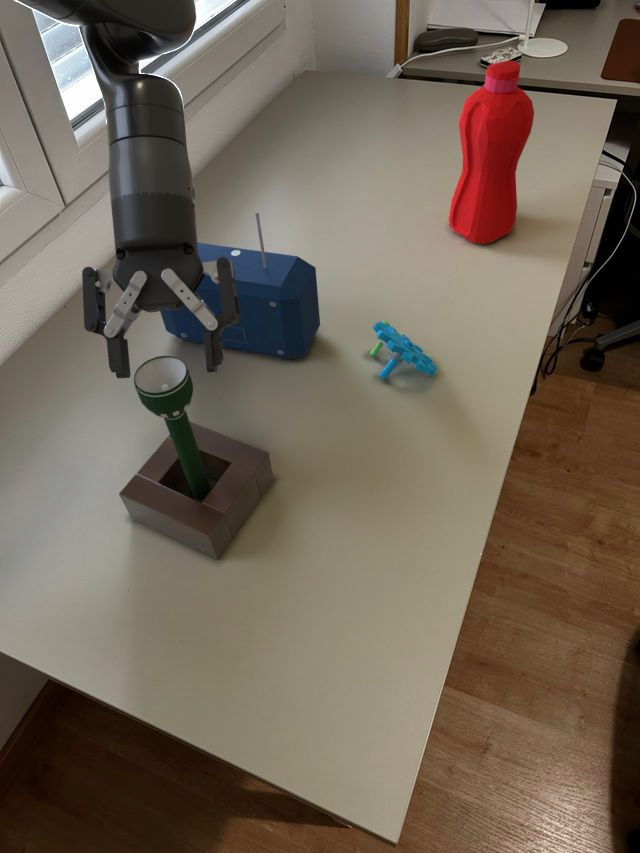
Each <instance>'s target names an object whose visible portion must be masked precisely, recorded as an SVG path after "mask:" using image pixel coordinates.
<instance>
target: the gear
mask: <svg viewBox="0 0 640 853" xmlns="http://www.w3.org/2000/svg"><path fill="white" fill-rule="evenodd" d="M372 330H374V332H376V334H375V335H376V337H377V338H378V340H379V341H378V342H377V344H376V345H375V346H374V347H373V349H372V350H371V351H370V352H369V354H370V355H371V356H372V357H375V356H377V354H378V353H379V351H381V349H382V348H383V346H384V348H385V349H386V350H387V351H388V353H389V354H390V356H391V357H392V358H391V359H390V360H389V362H388V363H387V364H386V365H385V366H384V368H383V369H382V370H381V372H380V373H379V374H378V377H380V379H381V380H384V381H386V380H387V378H388V377H389V376H390V374H391V373H392V372H393V371H394V369H395V368H396V367H397V366H398V364H402V363H403V362H404V363H406V365H409V364H410V363H413V364H414V368H415V369H416V370H417V371H419V373H422V374H424V372H425V374H426V375H427V376H430V377H433V376H434V375H435V374H436V373H437V370H438V369H439V367H438V366H437V365H436V364H434V360H433V359H432V357H430V356H429V355H427V354H425V353H424V350H423V349H422V348H421V347H420V346H419V345H417V344H414V343H413V341H411V339H410V338H409V337H408V336H406V335H405V334H404V333H402V334H401V333H400V332H398V330H397V329H396V328H395V327H393V326H392V325H391V324H390V322H388V321H387V320H383V321H381V320H378V322H376V323H375V324H374V325H373V327H372Z"/></svg>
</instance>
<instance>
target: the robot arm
mask: <svg viewBox="0 0 640 853" xmlns="http://www.w3.org/2000/svg"><path fill="white" fill-rule="evenodd" d="M14 2H17V3H20V4H21V5H23V6H26V7H27V8H29V9H32V10H34V11H36V12H37V13H39V14H42V15H44V16H46V17H48V18H50V19H51V20H54V21H56V22H58V23H61V24H64V25H67V26H71V27H78V31H79V32H78V33H79V34H80V38H81V41H82V44H83V46H84V49H85V52H86V54H87V57H88V60H89V62H90V65H91V68H92V71H93V74H94V77H95V80H96V83H97V86H98V89H99V91H100V95H101V97H102V100H103V104H104V109H105V123H106V133H107V144H108V172H107V173H108V185H109V186H108V187H109V198H110V208H111V209H110V210H111V219H112V228H113V239H114V240H113V241H114V250H115V258H116V259H115V264H114V266H113V268H111V269H109V268H108V269H105V268H104V269H101V268H100V269H97V268H94V267H92V266H85V267H84V268H83V269H82V272H81V276H82V277H81V278H82V279H81V280H82V283H81V284H82V307H83V309H82V310H83V327H84V330H85V331H87V332H88V333H93V334H97V335H100V336H102V337H104V339H105V340H106V350H107V360H108V368H109V370H110V372H111V373H115V377H116V378H117V379H130V378H131V364H130V352H129V343H128V339H127V338H125V336H126V334H127V333H128V331H129V329H130V328H131V326H132V324H133V323H134V322H135V321H137V319H138V318H139V316H140V314H141V313H142V312H143V311H144V312H147V313H158V312H160V311H161V310H164V309H168V310H173V311H176V310H181V309H182V308H184V307H186V306H187V307H188V308H189V310H190V311H191V312H192V313H193V314H194V315H195V316H196V317H197V318H198V319H199V320H200V321H201V322H202V324H203V325H204V326H205V327H206V332H205V333H204V344H203V345H204V356H205V357H204V358H205V366H206V373H207V374H209V373H210V374H211V373H218V372H219V367H220V366H223V364H224V361H225V356H224V355H225V354H224V348H223V343H222V332H223V330H224V329H225V328H227V327H229V326H231V325H233V324H237V323H239V322H240V319H241V317H240V310H239V302H238V295H237V288H236V281H235V273H234V267H233V264H232V263H231V262H230V261H229V260H228V259H227V258H225V257H220V258H219V259H218V260H217V261H211V262H204V263H202V262H201V260H200V257H199V253H198V243H199V242H198V232H197V231H198V230H197V220H196V218H197V217H196V207H195V199H196V195H195V194H196V193H195V186H194V182H193V173H192V168H191V164H190V160H189V153H188V144H187V143H188V142H187V130H186V120H185V118H186V117H185V107H184V102H183V96H182V94H181V91H180V88H178V86H177V84H175V83H174V82H173V81H171V80H170V79H168V78H166V77H165V76H161V75H158V74H153V73H144V72H141V62H143V61H146V60H149V59H152V58H155V57H158V56H162V55H165V54H169V53H171V52H175V51H177V50H179V49H181V48H182V47H183V46H185V45H186V44H187V43H189V41H190V40H191V38H192V36H193V34H194V32H195V29H196V25H197V8H196V2H195V0H14ZM205 274H209V275H210V276H211V279H212V281H213V282H214V283H216V284H218V285H219V286H220V293H221V300H222V308H223V313H221V314H219V315H217V316H216V315H215V314H214V313H213V312H212V311H211V310H210V308H209V307H208V306H207V304H206V303H205V302H204V301H203V300H202V299H201V298H200V296H199V295H198V294H197V293H196V290H197V288H198V287H199V285H200V283H201V282H202V280H203V278H204V276H205ZM113 282H115V284H116V285H117V286H118V287H119V288H120V290H121V291H122V292H123V294H122V295H121V297H120V299H119V300H118V301H117V303H116V305H115V307H114V309H113V313H112V315H111V317H110V318H109V319H108V321H107V314H106V312H107V311H106V308H107V307H106V294H107V293H109V291H110V290H111V286H112V284H113Z"/></svg>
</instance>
